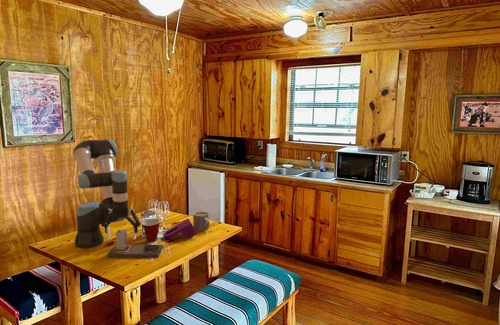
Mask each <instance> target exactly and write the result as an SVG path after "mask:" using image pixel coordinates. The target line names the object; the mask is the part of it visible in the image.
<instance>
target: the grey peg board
mask: <svg viewBox="0 0 500 325" xmlns="http://www.w3.org/2000/svg"><path fill="white" fill-rule="evenodd" d="M127 247H128V250H127V251H117V248H116V244H115V245H114V246H113V247H112V248H111V250H110V251H109V252H108V253H107V258H159V257H160V255H161V253H162V251H163V249H164V244H127Z"/></svg>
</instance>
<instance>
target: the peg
mask: <svg viewBox="0 0 500 325" xmlns="http://www.w3.org/2000/svg"><path fill="white" fill-rule="evenodd" d="M115 241H116V242H115V245H116V248H117V251H127V250H128V247H127V245H128V230H127V229H118V230H117V231H116V232H115Z"/></svg>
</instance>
